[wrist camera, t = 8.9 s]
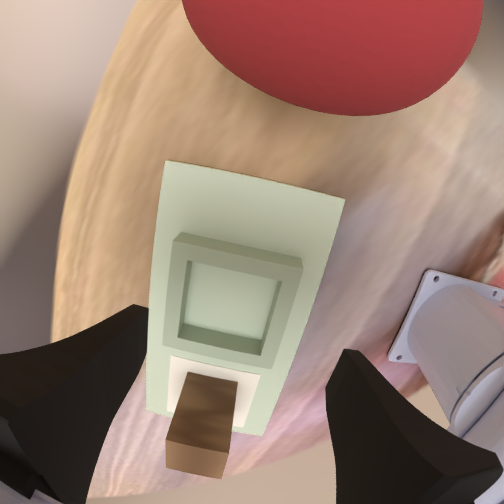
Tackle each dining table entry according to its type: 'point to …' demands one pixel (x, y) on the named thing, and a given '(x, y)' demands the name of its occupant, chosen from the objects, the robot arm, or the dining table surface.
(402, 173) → the dining table surface
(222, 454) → the walnut post
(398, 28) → the lollipop
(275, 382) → the pocket board
